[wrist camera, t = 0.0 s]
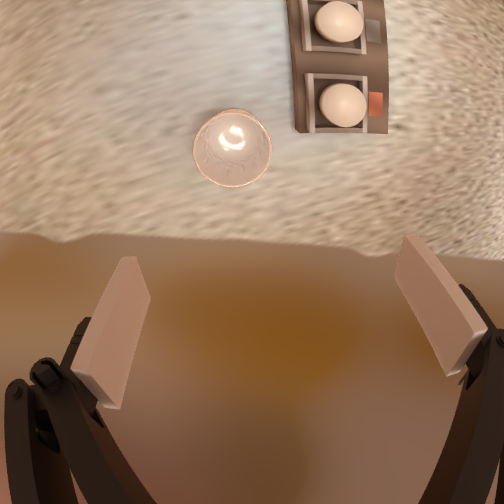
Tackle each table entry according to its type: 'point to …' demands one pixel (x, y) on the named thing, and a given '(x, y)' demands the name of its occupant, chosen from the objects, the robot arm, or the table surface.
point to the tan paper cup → (232, 148)
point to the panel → (339, 66)
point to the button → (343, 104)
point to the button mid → (338, 22)
